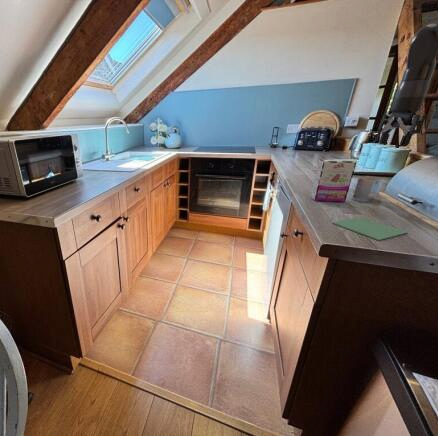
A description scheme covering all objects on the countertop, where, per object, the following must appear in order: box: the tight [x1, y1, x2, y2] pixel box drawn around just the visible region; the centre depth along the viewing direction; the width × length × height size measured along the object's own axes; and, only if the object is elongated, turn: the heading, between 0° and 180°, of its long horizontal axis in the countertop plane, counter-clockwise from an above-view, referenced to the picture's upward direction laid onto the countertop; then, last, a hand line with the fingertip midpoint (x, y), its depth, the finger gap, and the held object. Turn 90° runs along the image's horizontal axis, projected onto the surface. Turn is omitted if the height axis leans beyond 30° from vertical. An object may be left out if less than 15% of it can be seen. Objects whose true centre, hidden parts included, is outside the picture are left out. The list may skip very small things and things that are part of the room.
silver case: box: [351, 175, 382, 203], centre depth 99 cm, size 5×8×9 cm, turn 123°
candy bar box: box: [310, 158, 358, 203], centre depth 98 cm, size 11×5×16 cm, turn 76°
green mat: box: [332, 216, 408, 242], centre depth 75 cm, size 13×13×1 cm
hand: (392, 145), depth 89 cm, fingers open, 8 cm apart
